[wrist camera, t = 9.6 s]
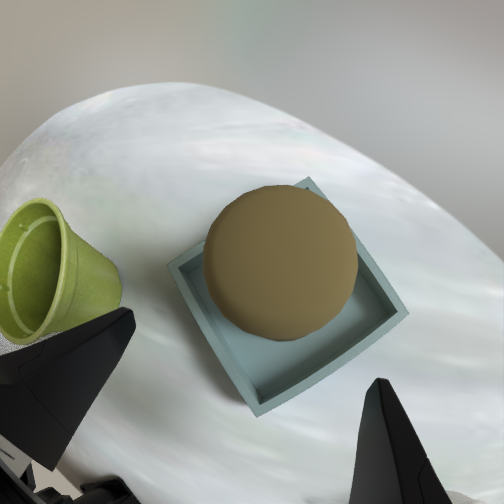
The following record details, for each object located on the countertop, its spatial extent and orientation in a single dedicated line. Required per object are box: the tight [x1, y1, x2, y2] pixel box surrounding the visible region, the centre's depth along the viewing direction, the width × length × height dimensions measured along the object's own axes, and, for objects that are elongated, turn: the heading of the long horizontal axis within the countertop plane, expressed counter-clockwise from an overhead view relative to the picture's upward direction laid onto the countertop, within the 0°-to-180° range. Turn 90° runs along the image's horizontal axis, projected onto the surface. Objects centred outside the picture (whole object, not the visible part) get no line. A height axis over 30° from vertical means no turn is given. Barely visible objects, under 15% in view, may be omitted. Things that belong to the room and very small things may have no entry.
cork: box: [202, 185, 358, 342], centre depth 13 cm, size 6×6×11 cm
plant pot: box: [0, 198, 122, 345], centre depth 17 cm, size 9×9×9 cm
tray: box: [167, 177, 409, 418], centre depth 18 cm, size 11×11×2 cm
